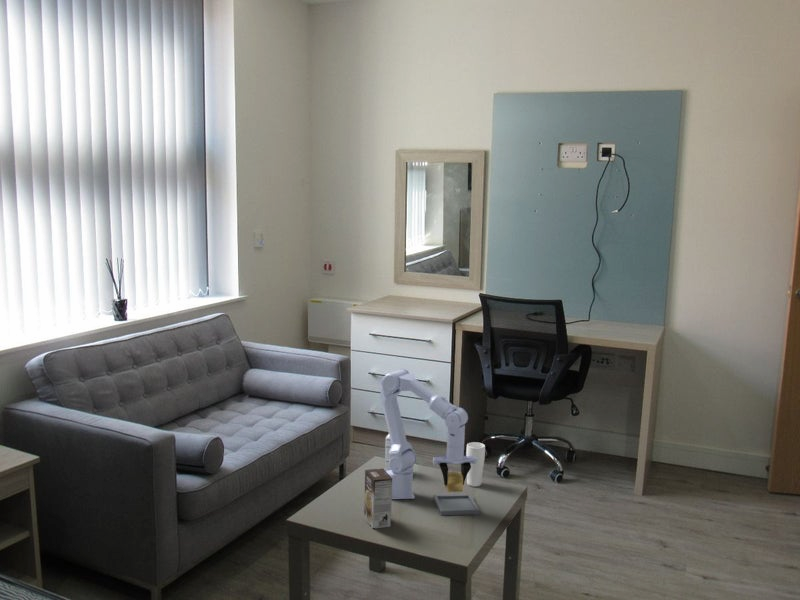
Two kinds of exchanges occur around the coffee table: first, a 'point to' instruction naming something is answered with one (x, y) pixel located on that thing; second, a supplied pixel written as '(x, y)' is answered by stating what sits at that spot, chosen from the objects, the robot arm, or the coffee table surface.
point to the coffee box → (378, 498)
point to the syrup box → (387, 453)
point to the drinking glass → (476, 469)
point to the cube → (454, 482)
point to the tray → (456, 504)
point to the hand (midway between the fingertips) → (453, 484)
